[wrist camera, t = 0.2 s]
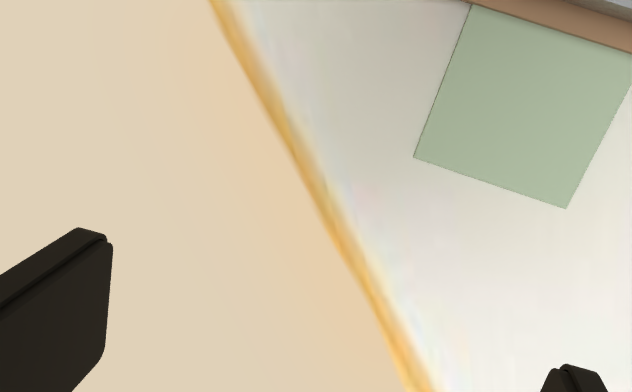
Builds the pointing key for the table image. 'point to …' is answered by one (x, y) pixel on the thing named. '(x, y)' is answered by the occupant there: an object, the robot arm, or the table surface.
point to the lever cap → (607, 7)
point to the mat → (524, 106)
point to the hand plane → (567, 20)
